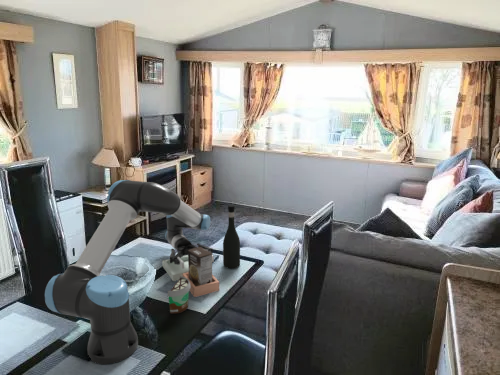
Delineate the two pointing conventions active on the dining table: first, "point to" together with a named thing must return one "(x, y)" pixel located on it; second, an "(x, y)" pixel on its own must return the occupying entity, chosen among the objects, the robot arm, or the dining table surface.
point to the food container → (179, 296)
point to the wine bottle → (231, 243)
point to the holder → (203, 286)
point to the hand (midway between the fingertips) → (198, 262)
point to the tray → (176, 268)
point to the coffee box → (200, 266)
